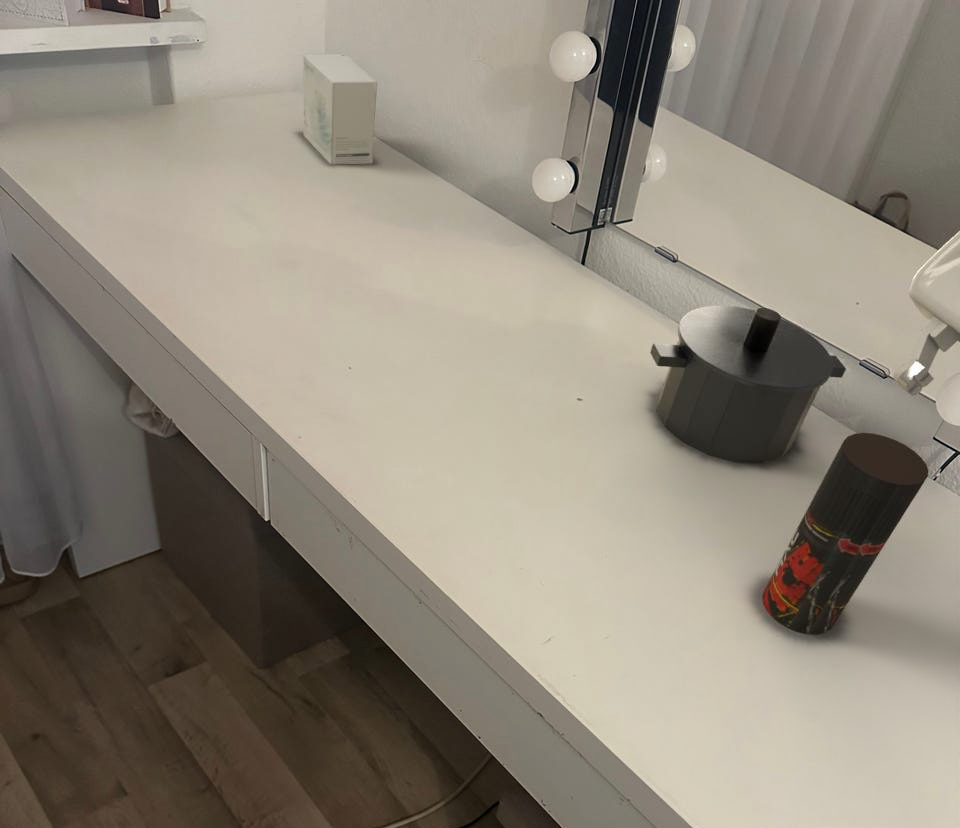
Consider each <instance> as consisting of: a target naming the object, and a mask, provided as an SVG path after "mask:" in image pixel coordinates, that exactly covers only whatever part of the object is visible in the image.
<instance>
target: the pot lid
mask: <svg viewBox="0 0 960 828" xmlns="http://www.w3.org/2000/svg"><path fill="white" fill-rule="evenodd" d="M677 336H678V341H679V340H680V342H681V344H682V345H683V347H684V348H685V350H686V351H687V352H688V353H689V354H690V355H691V356H692V357H693V358H694V359H696V360H697V361H698V362H699V363H701V364H702V365H704V366H705V367H707V368H708V369H710V370H712V371H713V372H715V373H717V374H719V375H721V376H723V377H726V378H728V379H730V380H733V381H735V382H738V383H741V384H744V385H747V386H751V387H754V388H759V389H763V390H769V391H776V392H803V391H809V390H812V389H816V388H818V387H820V388H821V387H822V386H823V385H825V383H826V382H828V380H829V379H830V378H831V377H830V376H831V373H832V371H833V362H832V359H831V357H830V355H831V354H830V353H829V351H828V349H826V347H824V345H823V344H822V343H821V342H820V341H818V340H817V338H815V337H814V336H812V335H811V334H810V333H808V332H807V331H805V330H804V329H803V328H801V327H799V326H797V325H795V324H793V323H791V322H789V321H787V320H785V319H782V316H781V314H780V313H778V312H777V311H775V310H774V309H771V308H767V307H758V308H756V309H751V308H745V307H742V306H734V305H733V306H732V305H707V306H701V307H698V308H695V309H692V310H690V311H688V312H687V313H686V314H684V315H683V317H682V318H681V319H680V321H679V324H678V328H677Z"/></svg>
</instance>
